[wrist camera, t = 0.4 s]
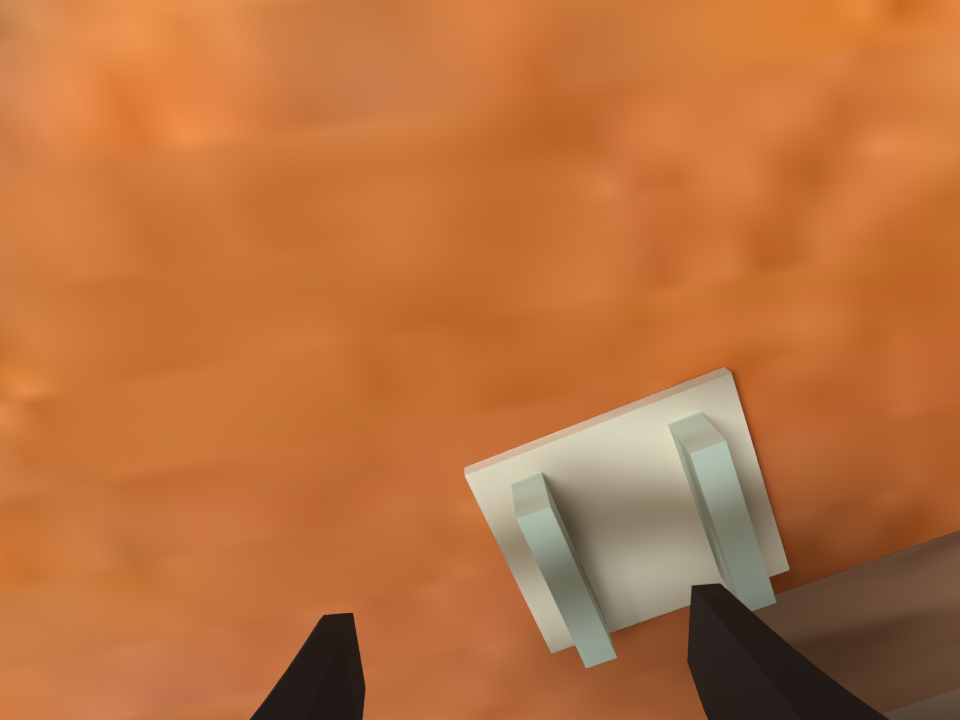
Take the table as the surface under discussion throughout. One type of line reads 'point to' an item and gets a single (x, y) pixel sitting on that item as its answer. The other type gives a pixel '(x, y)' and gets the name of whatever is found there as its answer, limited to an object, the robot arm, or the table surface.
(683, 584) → the rail stand
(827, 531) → the table surface
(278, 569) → the table surface
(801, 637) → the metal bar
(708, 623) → the robot arm
